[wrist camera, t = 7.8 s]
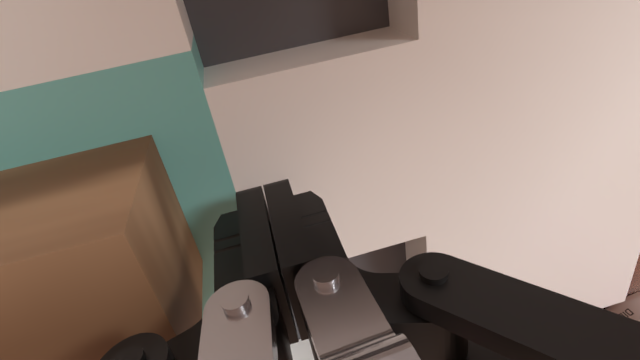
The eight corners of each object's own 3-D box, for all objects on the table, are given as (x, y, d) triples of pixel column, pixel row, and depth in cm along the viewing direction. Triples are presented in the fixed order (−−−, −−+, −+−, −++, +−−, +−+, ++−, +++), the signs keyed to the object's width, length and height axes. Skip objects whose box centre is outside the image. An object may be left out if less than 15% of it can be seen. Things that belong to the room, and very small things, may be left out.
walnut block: (-27, 177, 11) (-155, 307, 7) (151, 134, 11) (123, 233, 7) (58, 300, 13) (-3, 448, 9) (202, 260, 14) (201, 384, 10)
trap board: (-313, -219, 8) (-969, -421, 4) (722, -350, 11) (1093, -558, 6) (126, 409, 20) (101, 555, 15) (585, 266, 23) (684, 352, 18)
